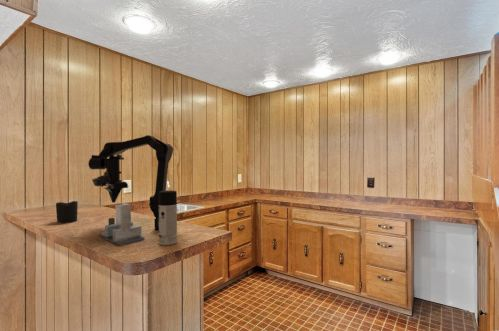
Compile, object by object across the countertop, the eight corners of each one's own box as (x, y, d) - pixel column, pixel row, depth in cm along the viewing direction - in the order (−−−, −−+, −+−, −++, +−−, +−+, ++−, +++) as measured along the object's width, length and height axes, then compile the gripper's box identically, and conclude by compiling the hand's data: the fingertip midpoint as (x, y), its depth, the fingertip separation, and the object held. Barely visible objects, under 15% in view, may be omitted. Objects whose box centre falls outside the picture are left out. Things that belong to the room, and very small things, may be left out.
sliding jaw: (98, 231, 114) (98, 219, 114) (122, 227, 121) (122, 216, 121) (107, 236, 106) (107, 224, 106) (132, 231, 114) (132, 219, 113)
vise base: (97, 234, 114) (97, 223, 114) (122, 230, 121) (121, 219, 121) (118, 245, 99) (118, 232, 99) (144, 239, 106) (144, 227, 106)
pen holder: (68, 223, 134) (67, 204, 134) (51, 223, 136) (51, 203, 135) (82, 219, 144) (81, 201, 144) (66, 219, 145) (66, 201, 145)
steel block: (125, 234, 111) (125, 203, 111) (131, 236, 108) (130, 204, 108) (115, 236, 108) (115, 204, 108) (120, 238, 105) (120, 205, 105)
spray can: (161, 240, 105) (160, 190, 105) (178, 240, 106) (178, 190, 105) (156, 246, 98) (156, 192, 98) (175, 245, 99) (174, 192, 99)
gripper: (87, 169, 126) (88, 202, 126) (101, 170, 113) (102, 207, 113) (112, 168, 134) (112, 199, 134) (128, 169, 121) (128, 203, 121)
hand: (113, 202), depth 126 cm, fingers closed
